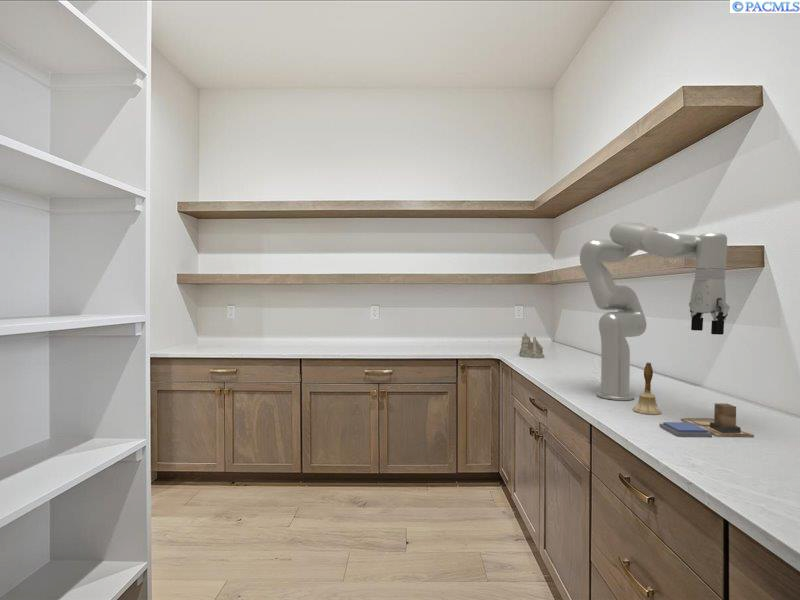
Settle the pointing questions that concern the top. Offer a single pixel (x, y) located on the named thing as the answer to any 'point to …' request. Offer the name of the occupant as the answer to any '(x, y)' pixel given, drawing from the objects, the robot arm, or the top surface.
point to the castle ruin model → (530, 348)
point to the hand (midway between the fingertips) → (706, 332)
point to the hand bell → (647, 395)
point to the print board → (706, 425)
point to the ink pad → (685, 429)
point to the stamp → (725, 419)
